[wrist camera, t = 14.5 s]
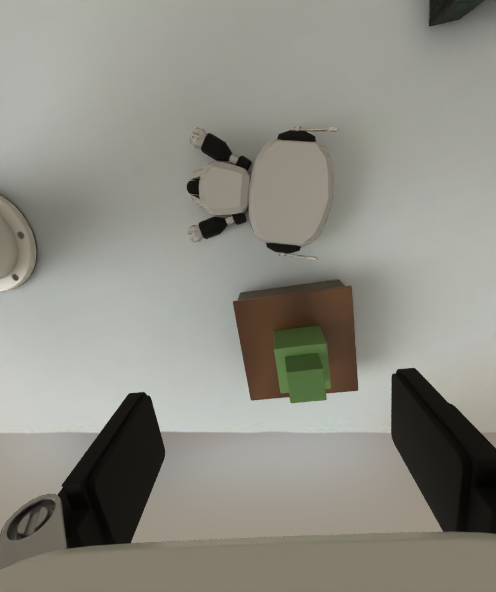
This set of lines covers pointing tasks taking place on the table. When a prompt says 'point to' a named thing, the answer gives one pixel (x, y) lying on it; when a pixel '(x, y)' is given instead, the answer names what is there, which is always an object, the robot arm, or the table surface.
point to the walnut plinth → (296, 314)
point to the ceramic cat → (450, 10)
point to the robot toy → (266, 189)
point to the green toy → (302, 363)
